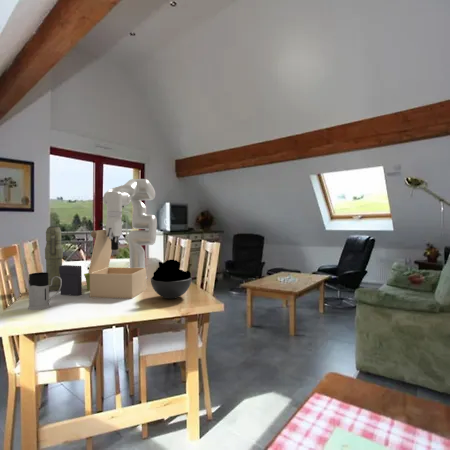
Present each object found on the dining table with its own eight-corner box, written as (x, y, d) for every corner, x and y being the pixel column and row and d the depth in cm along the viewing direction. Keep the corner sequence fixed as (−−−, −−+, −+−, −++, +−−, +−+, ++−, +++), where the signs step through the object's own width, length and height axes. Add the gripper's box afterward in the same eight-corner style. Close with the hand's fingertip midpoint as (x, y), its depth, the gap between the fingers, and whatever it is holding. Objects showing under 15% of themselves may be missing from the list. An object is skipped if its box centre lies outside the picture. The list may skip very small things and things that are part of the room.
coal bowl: (186, 291, 171) (186, 257, 171) (196, 300, 153) (196, 261, 152) (148, 295, 164) (147, 258, 164) (154, 305, 146) (153, 264, 145)
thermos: (45, 292, 170) (44, 227, 169) (45, 288, 180) (44, 226, 180) (64, 290, 175) (63, 226, 174) (62, 286, 185) (61, 226, 184)
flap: (108, 267, 180) (94, 263, 180) (116, 229, 178) (102, 225, 179) (89, 273, 159) (73, 269, 160) (98, 230, 158) (82, 226, 159)
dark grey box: (83, 294, 167) (82, 265, 166) (77, 296, 162) (76, 266, 162) (65, 292, 170) (65, 264, 169) (59, 294, 165) (58, 266, 165)
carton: (108, 288, 180) (108, 267, 179) (146, 289, 177) (146, 267, 177) (89, 297, 160) (89, 273, 159) (132, 298, 157) (132, 274, 157)
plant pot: (80, 290, 175) (80, 274, 175) (91, 286, 184) (91, 271, 184) (95, 291, 173) (94, 275, 173) (105, 287, 182) (105, 272, 182)
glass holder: (34, 304, 147) (33, 272, 146) (66, 304, 148) (65, 271, 147) (23, 310, 138) (23, 275, 138) (57, 309, 139) (57, 275, 139)
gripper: (113, 215, 176) (114, 248, 176) (100, 214, 161) (101, 251, 161) (127, 215, 175) (127, 248, 175) (115, 214, 160) (115, 251, 160)
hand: (114, 249), depth 168 cm, fingers closed
